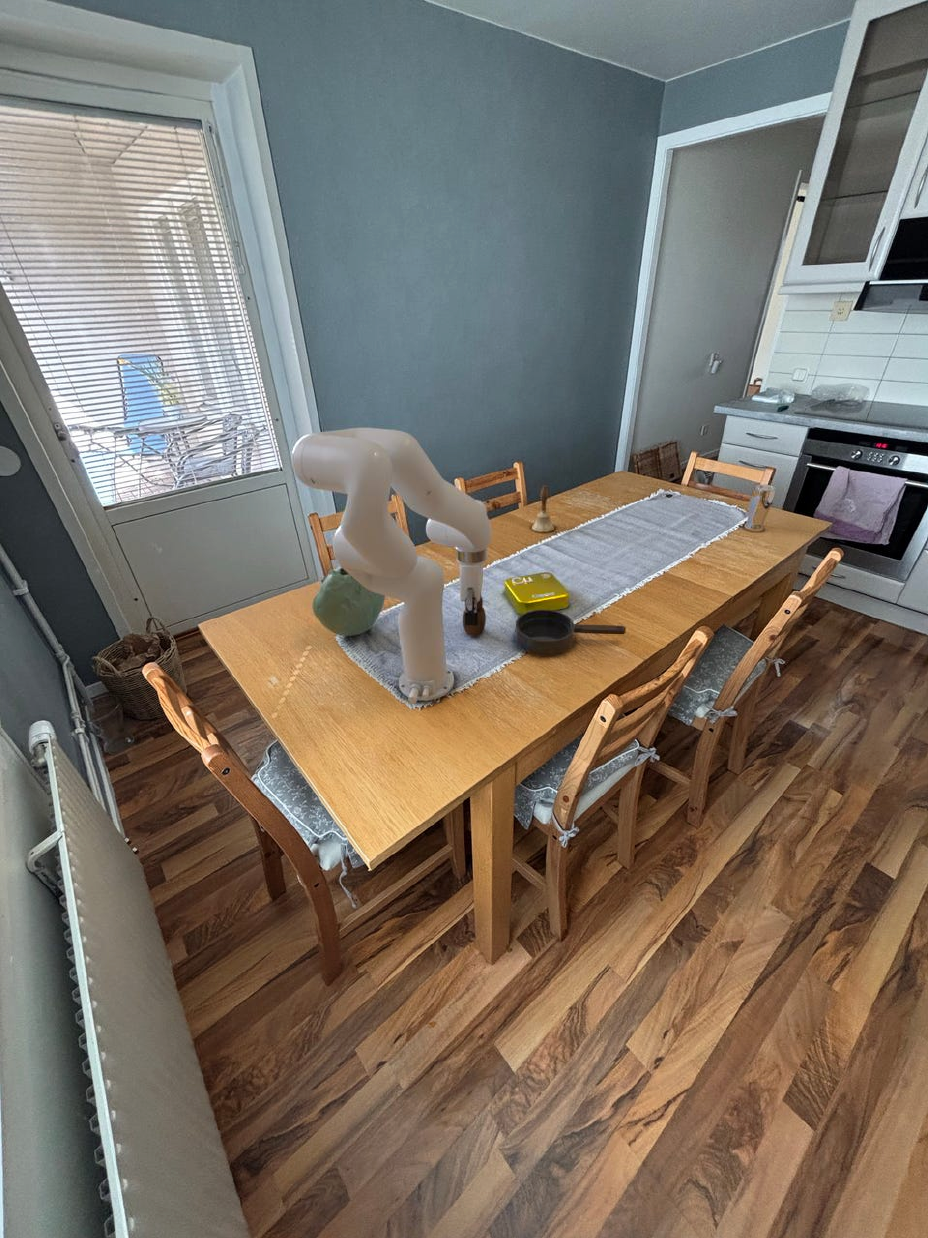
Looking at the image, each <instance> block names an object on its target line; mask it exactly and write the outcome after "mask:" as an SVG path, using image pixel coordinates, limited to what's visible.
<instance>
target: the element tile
mask: <svg viewBox="0 0 928 1238" xmlns="http://www.w3.org/2000/svg"><path fill="white" fill-rule="evenodd" d="M504 595H505V596H506V598H507V599H508V601H509V602H510V603H511V605H512V606H513V608H514V609H515V611H516V612H517V613H518V614H519V615H520V616H521V615H522V614H524V613H526V612H529V611H533V610H540V609H542V610H553V611H559V610H564V609H567V608H568V607H569V605H570V591H569V590H568V589H567V588H566V587H565V586H564V585H563V584H562V582H561V581H559V579H558V578H557V577H556V576H555V575H554V574H553V573H551V572H549V571H544V572H538V573H532V574H526V575H521V576H520V575H519V576H514V577H508V578H506V579H505V580H504Z"/></svg>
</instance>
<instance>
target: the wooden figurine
mask: <svg viewBox="0 0 928 1238" xmlns="http://www.w3.org/2000/svg"><path fill="white" fill-rule="evenodd" d="M473 592H474V589H473ZM473 599H475V597H473ZM465 600H466V599H465ZM483 600H484V599H483V597H482V595H481V596H480V600H479V601H478V602H477V611H478V625H465V609H464V610H463V614H462V627H463V630H464V632H465V634H466V635H467V636H470V637H472V638H476V637H479V636H481V635H482V634H483V633H484V632H485V631H484V630H485V627H486V620H487V615H486V610H485V608H484V607H483V606H484V601H483ZM472 606H474V603H473V602H472Z"/></svg>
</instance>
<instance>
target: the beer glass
mask: <svg viewBox="0 0 928 1238" xmlns="http://www.w3.org/2000/svg"><path fill="white" fill-rule="evenodd" d="M776 491H777V488H776V487H775V486H773V485H769V484H756V485H755V486H754V487H753V490H752V493H751V496H750V499H749V505H748V516H747V520H746V522H745V524H744V526H743V527H744V529H745V530H747V531H750V532H762V531H763V530H764V524H765V520H766V517H767V516H768V514H769V512H770V510H771V509H772V508H771V507H772V505H773V503H774V500H775V495H776Z"/></svg>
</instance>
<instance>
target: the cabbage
mask: <svg viewBox="0 0 928 1238" xmlns="http://www.w3.org/2000/svg"><path fill="white" fill-rule="evenodd" d="M320 583H321V585H320V586H319V589H318V590H317V592H316V594H315V596H314V597H313V600H312V612H313V615H314V616H315V617H316V619H317V620H318V621H319V622H320V624H322V626H323V627H324V628H325V629H327V630H328V631H330V632H332V633H334V634H335V635H338V636H342V637H354V636H360V635H363V634H364V633H366V632H367V631H369V630H371V628H373V626H374V624H375V623H376V622H377V619H378V618H379V616H380V614H381V612H382V610H383V607H384V603H385V599H386V596H385V595H381V594H378V593H374V592H372V591H370V590H368V589H367V588H365V587H364V586H363V585H361V584H360V583H359V582H358V581H357V580H355V579H354V578H353V577H352V576H351V575H350V574H349V573H347V572H346V571H345V570H344V569H343V568H342V567H341V566H340V565H339V566H337V567H334V568H333V569H331V570H329V572H328V574H327V575H326V576H323V579H322V578H321V579H320Z"/></svg>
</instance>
